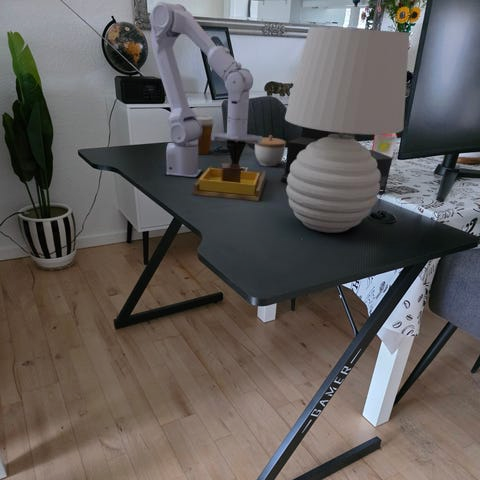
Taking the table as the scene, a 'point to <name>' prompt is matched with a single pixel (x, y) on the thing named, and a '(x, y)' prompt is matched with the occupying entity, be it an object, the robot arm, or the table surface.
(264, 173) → the board
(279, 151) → the trinket box
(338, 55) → the table lamp
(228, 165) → the block
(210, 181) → the tray
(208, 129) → the disposable coffee cup
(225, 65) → the robot arm
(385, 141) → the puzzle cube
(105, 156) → the table surface
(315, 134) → the bookend
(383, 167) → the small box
